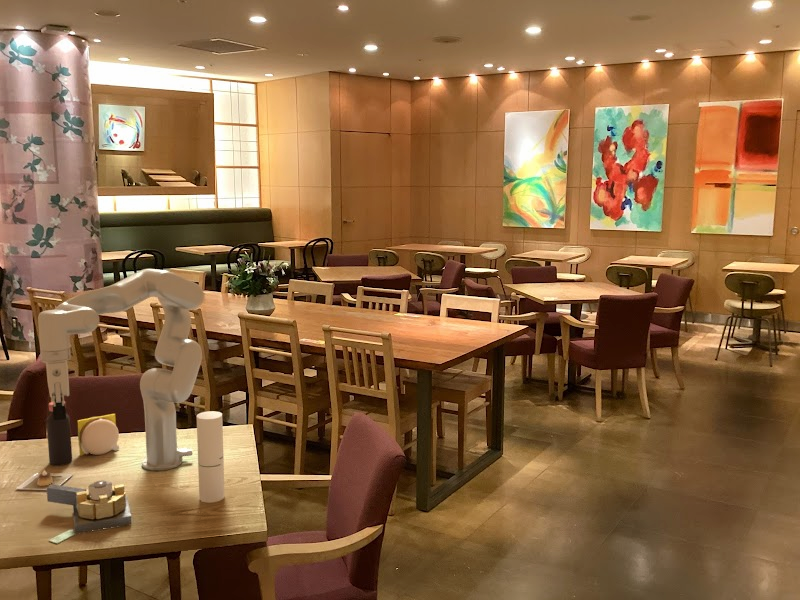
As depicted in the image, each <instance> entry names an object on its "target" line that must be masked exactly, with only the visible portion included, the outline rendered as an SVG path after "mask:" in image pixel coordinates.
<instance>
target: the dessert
mask: <svg viewBox="0 0 800 600" xmlns="http://www.w3.org/2000/svg"><path fill="white" fill-rule="evenodd" d="M73 475H74V473H57V472H56V473H55V472H54V473H53V472H52V473H50V472H47V471H46V470H45V469H43V470H42V471H41V472H35V473H34V474H32V475H31V476H30V477H29V478H28V479H26V480H25V481H24V482H22V483H20V484H19V485H18V486H16V488H15V490H19V491H24V490H25V491H47V488H45V489H44V488H25V487H27V486H28V485H29V484H30V483H31V482H33V481H34V480H35V479H37V478H38V479H37V484H36V485H37V486H38V485H39V486H40V487H46V486H45V485H47V486H50V485H52V484H53V483H54V480H53V477H51V476H62V477H61V478H65V479H64V480H63V481H61V484H60V483H59V484H58V485H60V486H63V484H64V483H65V482H67V480H68V479H69V478H72V476H73ZM37 476H38V477H37ZM67 477H68V478H67ZM51 483H52V484H51ZM49 484H50V485H49ZM23 487H24V488H23Z"/></svg>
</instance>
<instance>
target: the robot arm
mask: <svg viewBox="0 0 800 600" xmlns="http://www.w3.org/2000/svg"><path fill="white" fill-rule="evenodd" d="M154 297H155V298H157V299H158V302H159V303H160V305H161V307H162V309H163V313H164V321H163V325H162V329H161V331H160V335H159V338H158V341H157V344H156V347H155V351H154V359H155V361H157V362H158V363H159V364H162V365H164V366H168V367H173V369H172V370H170V369H165V368H159V367H154V368H153V367H152V368H150V369H148V370H146V371H145V372H143V374H142V375H141V377H140V381H139V389H140V394H141V397H142V400H143V401H142V402H143V409H144V423H145V425H144V426H145V427H144V429H145V446H146V447H145V448H146V457H145V458H144V459H142V461H141V466H142V468H143V469H146V470H149V471H158V472H159V471H166V470H167V471H168V470H171V469H175V468H177V467H179V466H180V465H181V464H182V463H183V457H189V456H193V450H192V449H187V448H188V447H186V448H181V449H180V448H179V447H178V440H177V439H178V436H177V413H176V412H177V411H176V410H177V409H176V406H175V404H181V403H183V402H185V401H187V400H188V399H189V398H190V396H191V394H192V392H193V389H194V386H195V383H196V381H197V377H198V373H199V370H200V367H201V364H202V361H203V360H202V359H203V353H202V352H203V351H202V350H203V349H202V347H201V345H200V343H198V342H197V341H196V340H194V339H191V338H190V339H189V336H190V335H189V334H190V331H191V328H192V317H191V313H190V311H191V310H195V309H198V308H199V307H200V306H201V305H202V304H203V302H204V300H205V292H204V289H203V288H202V287H201V286H200V285H199V284H198V283H196V282H194V281H192V280H190V279H187V278H185V277H183V276H181V275H179V274H176V273H175V272H172V271H169V270H164V269H157V268H156V269H155V268H143V269H141V270H138V271H137V272H135V273H133V274H131V275H129V276H128V277H125V278H122V279H121V280H119V281H117V282H116V283H112V284H111V285H108V286H104V287H101V288H97V289H95V290H94V289H93V290H90V291H86V292H84V293H80V294H77V295H75V296H74V297H70V298H69V299H67V300H65V301H64V302H62V303H60V304H59V305H57V306H56V307H55V308H54V309H48V310H43V311H41V312H39V314H38V317H37V321H38V335H39V337H38V339H39V352H40V362H41V363H44V364H45V367H46V377H47V378H46V379H47V387H48V392H49V397H50V398H52V402H53V418H54V420H62V419H66V414H67V409H66V408H67V406H66V407H65V404H66V402H65V403H64V401H65V397H69V396H70V383H69V381H70V380H69V366H68V362H69V361H70V360H71V359H72V358H71V357H72V356H71V341H70V340H71V339H70V335H80V334H81V335H82V334H83V335H85V334H90V333H92V332H94V331H95V330H96V329H97V328H98V326H99V325H100V316H99V315H102V314H115V313H120V312H125V311H127V310H128V309H129V310H130V309H131V308H133V307H135V306H136V305H138V304H140V303H142V302H143V301H146V300H147V299H150V298H154Z"/></svg>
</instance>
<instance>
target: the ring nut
mask: <svg viewBox="0 0 800 600" xmlns="http://www.w3.org/2000/svg"><path fill="white" fill-rule="evenodd" d="M46 489H47V490H46V497H47V502H49V503H55V504H61V505H62V504H63V505H69V506H73V505H74V506H77V512H78V516H80V517H81V518H88V519H95V518H96V519H101V518H106V517H111V516H113V515H117V514H118V513H119V512H121V511H122V510H124V509H125V507H126V498H125V496H126V491H125V485H124V484H123V483H122V484H116V485H112V492H113V496H112V497H111V498H109V499H107V495H106V494H102V495H99V501H92V500H89V491H88V488H87V489H86V488H80V487H79V488H78V487H75V486H66V485H59V484H50V485H48V487H46Z"/></svg>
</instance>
